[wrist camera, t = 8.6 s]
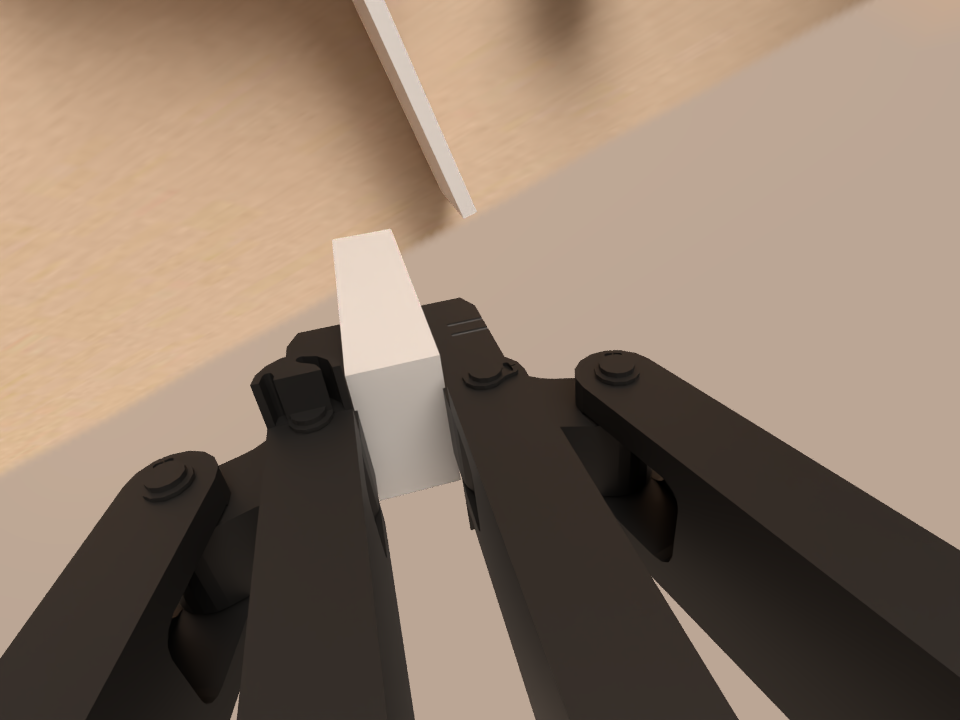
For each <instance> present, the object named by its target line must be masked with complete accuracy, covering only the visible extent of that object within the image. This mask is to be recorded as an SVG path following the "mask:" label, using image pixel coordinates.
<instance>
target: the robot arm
mask: <svg viewBox="0 0 960 720" xmlns="http://www.w3.org/2000/svg"><path fill="white" fill-rule="evenodd" d="M332 244H333V254H334V265H335V276H336V286H337V297H338V308H339V316H340V317H339V318H340V325H335V326H330V327H325V328H320V329H316V330H311V331H306V332H301V333H298V334H297V335H296V336H295V337H294V339H293V340H292V341H291V342H290V344H289V345H288V346H287V350H286V357H284V358H281V359H279V360H277V361H275V362H273V363H271V364H269V365H267V366H266V367H264V368H263V369H262V370H261V371H260V372H259V373H257V374H256V375H255V377H254V379H253V381H252V383H251V385H250V386H251V388H252V391H253V394H254V396H255V399H256V401H257V404H258V406H259V409H260V411H261V414H262V416H263V419H264V421H265V424H266V426H267V438H266V441H265V442H263V443H262V444H261V445H259V446H258V447H256V448H255V449H253V450H251V451H249V452H248V453H245V454H243V455H241V456H239V457H237V458H235V459H233V460H230V461H228V462H226V463H224V464H221V465H219V466H218V464H217V462H216V460H215V457H213V456H211V455H209V454H208V453H206V452H200V451H186V452H182V453H177V454H172V455H169V456H167V457H164V458H162V459H159V460H157V461H155V462H153V463H151V464H150V465H148V466H147V467H145V468H144V469H142V470H141V471H139V472H138V473H136V474H135V475H134V476H133V477H132V478H131V479H130V480H129V481H128V483H127V484H126V485H125V486H124V487H123V488H122V489H121V491H120V492H119V494H118V495H117V496H116V498H115V499H114V501H113V502H112V503H111V505H110V506H109V508H108V509H107V510H106V512H105V513H104V515H103V516H102V517H101V519H100V520H99V522H98V523H97V524H96V526H95V527H94V529H93V530H92V532H91V533H90V534H89V535H88V537H87V539H86V540H85V541H84V543H83V544H82V545H81V547H80V548H79V550H78V551H77V552H76V554H75V555H74V556H73V558H72V559H71V561H70V562H69V563H68V565H67V566H66V568H65V569H64V570H63V572H62V573H61V575H60V576H59V577H58V579H57V580H56V582H55V583H54V584H53V586H52V587H51V589H50V590H49V592H48V593H47V594H46V595H45V597H44V598H43V600H42V601H41V602H40V604H39V605H38V607H37V608H36V609H35V611H34V612H33V614H32V615H31V617H30V618H29V619H28V621H27V622H26V623H25V625H24V626H23V628H22V629H21V631H20V632H19V633H18V635H17V636H16V637H15V639H14V640H13V641H12V643H11V644H10V646H9V647H8V648H7V650H6V651H5V653H4V654H3V655H2V657H1V658H0V720H230V718H231V715H232V712H233V709H234V706H235V703H236V700H237V697H238V694H239V691H240V695H239V704H238V714H237V720H415V719H414V712H413V705H412V698H411V692H410V685H409V679H408V672H407V665H406V658H405V652H404V645H403V638H402V632H401V626H400V619H399V612H398V606H397V599H396V593H395V585H394V579H393V572H392V566H391V559H390V552H389V545H388V539H387V533H386V526H385V521H384V517H383V514H382V510H381V507H380V503H379V499H380V501H381V500H385V499H389V498H393V497H397V496H401V495H404V494H408V493H412V492H416V491H420V490H424V489H428V488H431V487H435V486H439V485H443V484H446V483H450V482H454V481H458V480H460V479H461V478H460V473H461V476H462V480H463V486H464V492H465V498H466V504H467V510H468V516H469V522H470V528H471V530H473V529H475V530H476V534H477V537H478V540H479V543H480V546H481V550H482V553H483V556H484V559H485V562H486V565H487V568H488V571H489V575H490V578H491V581H492V584H493V587H494V590H495V593H496V597H497V599H498V603H499V605H500V609H501V612H502V615H503V619H504V621H505V625H506V628H507V631H508V634H509V637H510V640H511V644H512V647H513V650H514V653H515V656H516V659H517V662H518V665H519V669H520V672H521V675H522V678H523V681H524V684H525V688H526V691H527V694H528V697H529V700H530V703H531V706H532V709H533V712H534V716H535V719H536V720H738V718H737V716H736V715H735V713H734V712H733V710H732V708H731V706H730V705H729V703H728V702H727V700H726V699H725V697H724V695H723V694H722V692H721V690H720V688H719V687H718V685H717V684H716V682H715V680H714V679H713V677H712V675H711V674H710V672H709V670H708V669H707V667H706V665H705V664H704V662H703V661H702V659H701V657H700V656H699V654H698V652H697V651H696V649H695V648H694V646H693V644H692V643H691V641H690V639H689V638H688V636H687V634H686V633H685V631H684V629H683V628H682V626H681V624H680V623H679V621H678V620H677V618H676V616H675V615H674V613H673V611H672V610H671V608H670V607H669V605H668V603H667V602H666V600H665V598H664V597H663V595H662V593H661V592H660V590H659V588H658V587H657V585H656V584H655V582H654V580H653V579H652V577H653V578H654V579H655V580H656V581H657V583H659V585H660V586H661V587H662V588H663V589H664V590H665V591H666V592H667V593H668V594H669V595H670V596H671V597H672V598H673V599H674V600H675V601H676V602H677V603H678V604H679V605H680V606H681V607H682V608H683V609H684V611H685V612H686V613H687V614H688V615H689V616H690V617H691V618H692V619H693V620H694V621H695V622H696V623H697V624H698V625H699V626H700V627H701V628H702V629H703V630H704V631H705V632H706V633H707V634H708V635H709V636H710V638H711V639H712V640H713V641H714V642H715V643H716V644H717V645H718V646H719V647H720V648H721V649H722V650H723V651H724V652H725V653H726V654H727V655H728V656H729V657H730V658H731V659H732V660H733V661H734V662H735V663H736V664H737V666H739V668H740V669H741V670H742V671H743V672H744V673H745V674H746V675H747V676H748V677H749V678H750V679H751V680H752V681H753V682H754V683H755V684H756V685H757V686H758V687H759V688H760V689H761V690H762V691H763V692H764V693H765V695H766V696H767V697H768V698H769V699H770V700H771V701H772V702H773V703H774V704H775V705H776V706H777V707H778V708H779V709H780V710H781V711H782V712H783V713H784V714H785V715H786V716H787V717H788V718H789V719H790V720H960V550H958V549H956V548H955V547H954V546H952V545H950V544H949V543H947V542H945V541H944V540H942V539H941V538H939V537H937V536H936V535H934V534H932V533H931V532H929V531H928V530H926V529H924V528H923V527H921V526H919V525H918V524H916V523H914V522H913V521H911V520H910V519H908V518H906V517H905V516H903V515H902V514H900V513H898V512H896V511H895V510H893V509H892V508H890V507H889V506H887V505H885V504H884V503H882V502H880V501H879V500H877V499H876V498H874V497H872V496H870V495H869V494H867V493H866V492H864V491H863V490H861V489H859V488H858V487H856V486H854V485H853V484H851V483H850V482H848V481H846V480H845V479H843V478H841V477H840V476H838V475H837V474H835V473H833V472H832V471H830V470H828V469H827V468H825V467H824V466H822V465H820V464H819V463H817V462H815V461H814V460H812V459H811V458H809V457H807V456H806V455H804V454H803V453H801V452H799V451H798V450H796V449H794V448H793V447H791V446H790V445H788V444H786V443H785V442H783V441H781V440H780V439H778V438H777V437H775V436H773V435H772V434H770V433H768V432H767V431H765V430H764V429H762V428H760V427H759V426H757V425H755V424H754V423H752V422H751V421H749V420H747V419H746V418H744V417H742V416H741V415H739V414H737V413H736V412H734V411H733V410H731V409H729V408H728V407H726V406H725V405H723V404H721V403H720V402H718V401H716V400H715V399H713V398H712V397H710V396H708V395H707V394H705V393H704V392H702V391H700V390H699V389H697V388H695V387H694V386H692V385H691V384H689V383H687V382H686V381H684V380H682V379H681V378H679V377H678V376H676V375H674V374H673V373H671V372H669V371H668V370H666V369H665V368H663V367H661V366H660V365H658V364H656V363H655V362H653V361H651V360H650V359H648V358H646V357H644V356H641V355H639V354H637V353H632V352H626V351H621V350H613V351H611V350H610V351H603V352H599V353H595V354H591V355H589V356H588V357H586V358H584V359H583V360H581V361H580V362H579V364H578V365H577V367H576V368H575V378H564V379H544V378H536V377H530V376H528V374H527V372H526V371H525V369H524V368H523V367H522V366H521V365H520V364H519V363H518V362H517V361H514V360H512V359H509V358H506V357H504V355H503V353H502V352H501V350H500V348H499V347H498V345H497V343H496V342H495V340H494V338H493V336H492V334H491V333H490V331H489V329H487V326H486V324H485V322H484V321H483V319H482V318H481V316H480V314H479V312H478V310H477V309H476V307H475V305H473V304H471V303H469V302H467V301H465V300H463V299H462V298H456V299H451V300H446V301H441V302H437V303H432V304H427V305H422V306H421V305H420V303H419V300H418V297H417V295H416V292H415V290H414V287H413V284H412V282H411V280H410V277H409V274H408V271H407V269H406V266H405V264H404V261H403V258H402V256H401V253H400V251H399V248H398V246H397V243H396V240H395V238H394V235H393V233H392V230H391V229H387V230H381V231H376V232H370V233H365V234H359V235H354V236H349V237H343V238H338V239H332ZM459 470H460V473H459ZM378 495H379V497H378ZM651 576H652V577H651Z"/></svg>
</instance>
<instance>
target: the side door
mask: <svg viewBox="0 0 960 720" xmlns="http://www.w3.org/2000/svg"><path fill="white" fill-rule="evenodd" d="M352 2H353V4H354V6H355V8H356V10H357V12H358V15H359V17H360V19H361V21H362V23H363V25H364V27H365V30H366V32H367V34H368V36H369V38H370V40H371V42H372V45H373V47H374V49H375V51H376V53H377V55H378V57H379V59H380V62H381V64H382V66H383V68H384V70H385V72H386V74H387V77H388V79H389V81H390V83H391V85H392V87H393V89H394V92H395V94H396V96H397V98H398V100H399V102H400V104H401V107H402V109H403V111H404V113H405V115H406V117H407V119H408V122H409V124H410V126H411V128H412V130H413V132H414V134H415V137H416V139H417V141H418V143H419V145H420V147H421V149H422V152H423V154H424V156H425V158H426V160H427V162H428V164H429V166H430V169H431V171H432V173H433V175H434V177H435V179H436V181H437V184H438V186H439V188H440V190H441V192H442V193H443V194H444V196H445V197H446V198H447V199H448V200H449V202H450V203H451V204H452V205H453V206H454V208H455V209H456V210H457V211H458V212H459V214H460V215H461V216H462V217H463V218H464V219H465V218H466V217H468V216H470V215H472V214H474V213H476V212H477V211H476V208H475V206H474V204H473V202H472V199H471V197H470V195H469V192H468V190H467V188H466V186H465V183H464V181H463V179H462V176H461V174H460V172H459V170H458V167H457V165H456V163H455V161H454V158H453V156H452V154H451V151H450V149H449V147H448V145H447V142H446V140H445V138H444V135H443V133H442V131H441V129H440V126H439V124H438V122H437V119H436V117H435V115H434V113H433V110H432V108H431V106H430V103H429V101H428V99H427V97H426V94H425V92H424V90H423V87H422V85H421V83H420V81H419V78H418V76H417V74H416V71H415V69H414V67H413V65H412V62H411V60H410V58H409V55H408V53H407V51H406V49H405V46H404V44H403V42H402V39H401V37H400V35H399V33H398V30H397V28H396V26H395V23H394V21H393V19H392V17H391V14H390V12H389V10H388V7H387V5H386V3H385V1H384V0H352Z"/></svg>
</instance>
